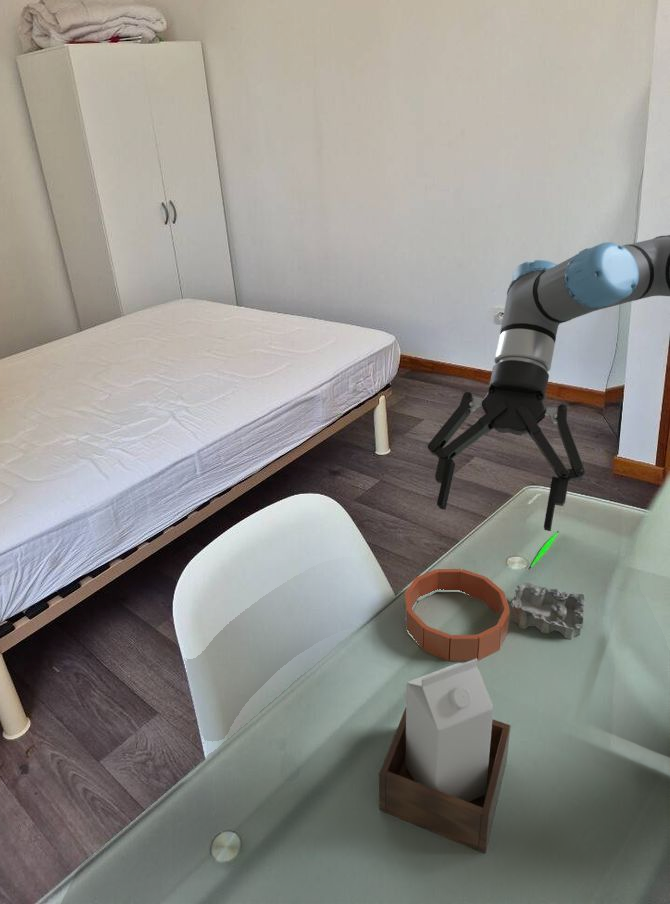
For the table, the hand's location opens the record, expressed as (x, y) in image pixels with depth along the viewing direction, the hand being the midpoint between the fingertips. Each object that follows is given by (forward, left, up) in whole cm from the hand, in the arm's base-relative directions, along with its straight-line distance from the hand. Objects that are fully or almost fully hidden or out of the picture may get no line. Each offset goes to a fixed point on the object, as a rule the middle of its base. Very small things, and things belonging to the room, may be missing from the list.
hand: (492, 518), depth 90 cm
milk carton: (-2, +20, -26) cm, 33 cm away
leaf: (-1, -31, -27) cm, 41 cm away
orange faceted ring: (+6, -6, -26) cm, 28 cm away
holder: (-3, +20, -26) cm, 33 cm away
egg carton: (-6, -14, -27) cm, 31 cm away
